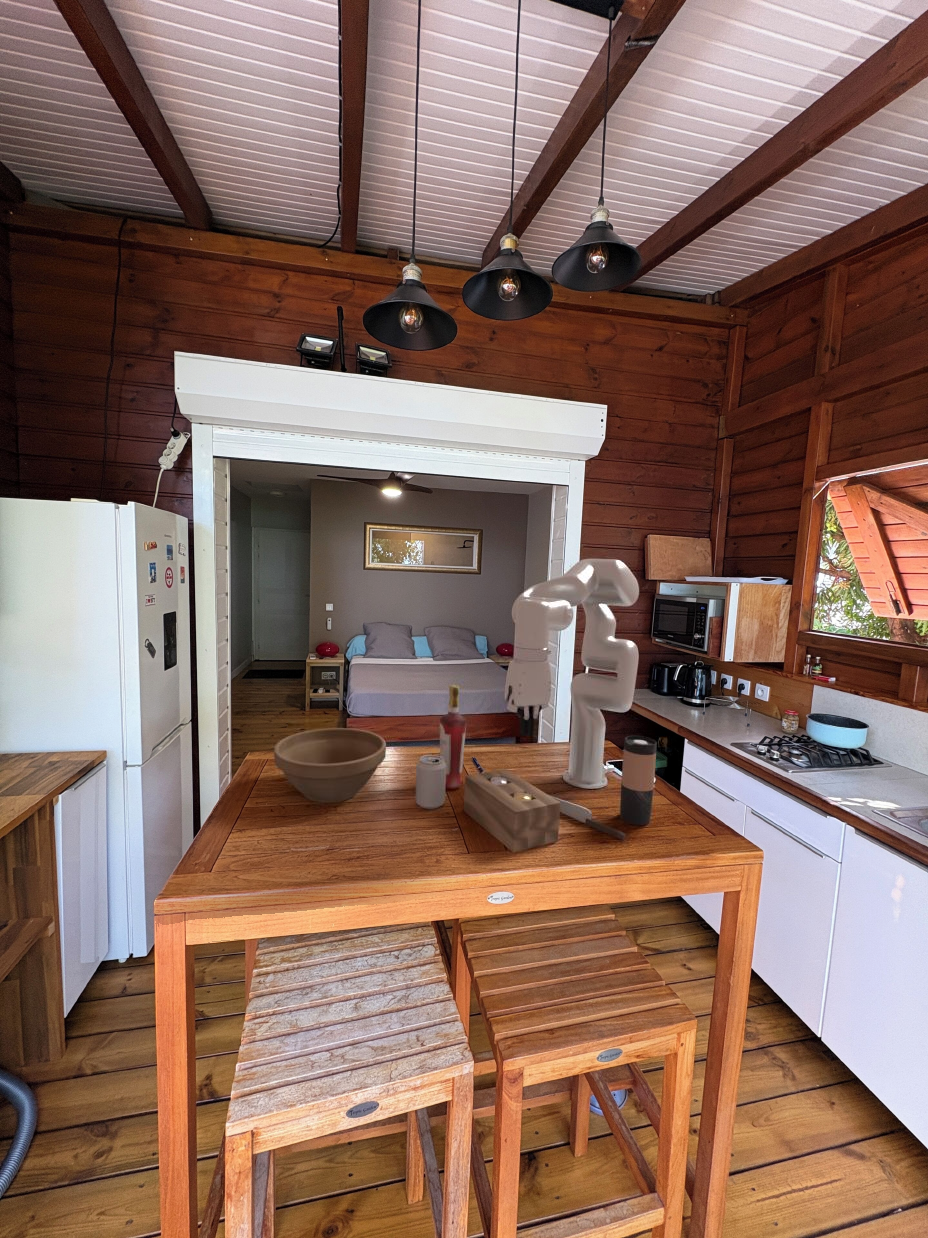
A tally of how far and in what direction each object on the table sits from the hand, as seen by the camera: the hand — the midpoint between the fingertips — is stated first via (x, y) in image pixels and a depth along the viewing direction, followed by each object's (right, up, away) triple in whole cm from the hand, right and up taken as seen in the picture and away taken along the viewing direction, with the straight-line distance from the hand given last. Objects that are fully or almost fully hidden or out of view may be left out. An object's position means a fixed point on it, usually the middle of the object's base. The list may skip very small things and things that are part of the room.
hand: (526, 734), depth 122 cm
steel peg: (-6, -21, +10) cm, 24 cm away
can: (-23, -21, +15) cm, 35 cm away
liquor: (-18, -20, +27) cm, 38 cm away
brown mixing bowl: (-49, -20, +20) cm, 57 cm away
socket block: (-4, -23, +6) cm, 23 cm away
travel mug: (+28, -24, +12) cm, 39 cm away
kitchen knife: (+12, -23, +12) cm, 29 cm away
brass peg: (-1, -22, +1) cm, 23 cm away
